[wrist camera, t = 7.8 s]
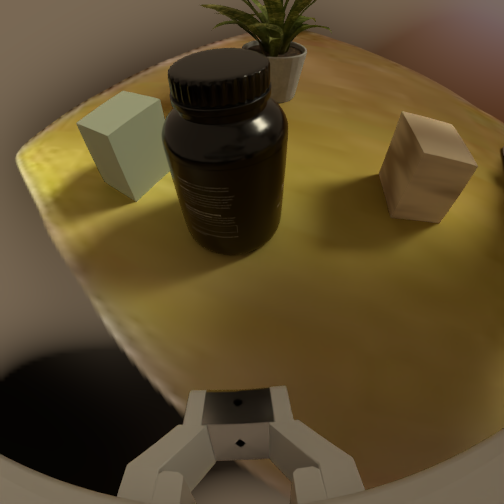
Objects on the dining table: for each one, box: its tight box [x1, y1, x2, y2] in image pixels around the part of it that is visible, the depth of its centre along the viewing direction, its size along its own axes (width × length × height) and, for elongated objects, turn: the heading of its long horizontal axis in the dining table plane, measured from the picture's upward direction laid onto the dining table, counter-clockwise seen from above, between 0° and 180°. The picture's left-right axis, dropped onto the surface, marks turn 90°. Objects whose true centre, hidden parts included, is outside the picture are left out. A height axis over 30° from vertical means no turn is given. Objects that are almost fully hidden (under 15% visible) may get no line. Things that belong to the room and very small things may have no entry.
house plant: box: [201, 0, 331, 103], centre depth 25 cm, size 14×14×16 cm
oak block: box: [379, 111, 478, 223], centre depth 20 cm, size 5×5×7 cm
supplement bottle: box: [162, 48, 288, 255], centre depth 16 cm, size 7×7×12 cm
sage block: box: [76, 91, 170, 202], centre depth 21 cm, size 5×5×7 cm
